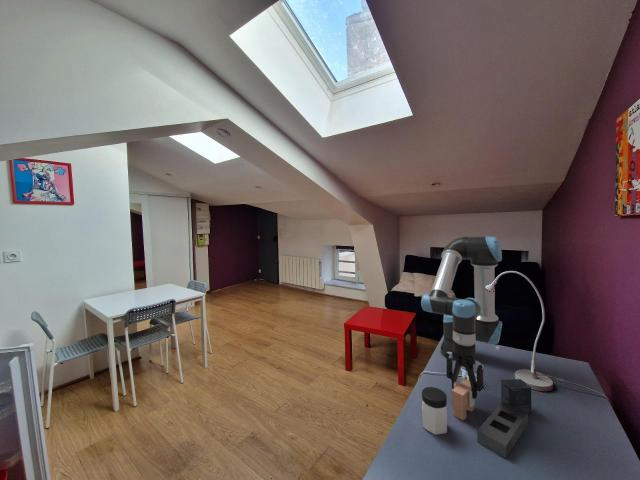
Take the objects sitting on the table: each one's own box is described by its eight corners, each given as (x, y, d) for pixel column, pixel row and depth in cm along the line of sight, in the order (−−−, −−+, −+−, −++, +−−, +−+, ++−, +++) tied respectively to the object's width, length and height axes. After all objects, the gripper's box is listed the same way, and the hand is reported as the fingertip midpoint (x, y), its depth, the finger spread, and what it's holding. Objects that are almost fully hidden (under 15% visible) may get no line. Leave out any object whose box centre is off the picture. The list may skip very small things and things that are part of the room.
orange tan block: (465, 403, 106) (465, 378, 106) (476, 408, 103) (476, 383, 103) (451, 416, 100) (451, 390, 99) (463, 422, 96) (462, 395, 96)
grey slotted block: (502, 411, 101) (502, 401, 101) (527, 423, 95) (528, 412, 94) (477, 442, 88) (477, 430, 87) (505, 458, 81) (505, 446, 81)
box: (520, 404, 104) (520, 378, 104) (532, 414, 99) (532, 387, 98) (500, 405, 105) (500, 379, 104) (510, 415, 99) (511, 388, 98)
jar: (422, 414, 101) (421, 384, 100) (446, 419, 98) (445, 388, 97) (422, 432, 93) (421, 399, 92) (447, 438, 90) (447, 404, 89)
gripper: (435, 337, 105) (436, 394, 106) (486, 354, 90) (486, 419, 92) (445, 332, 109) (445, 386, 111) (494, 347, 95) (494, 409, 96)
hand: (464, 401), depth 101 cm, fingers open, 5 cm apart
